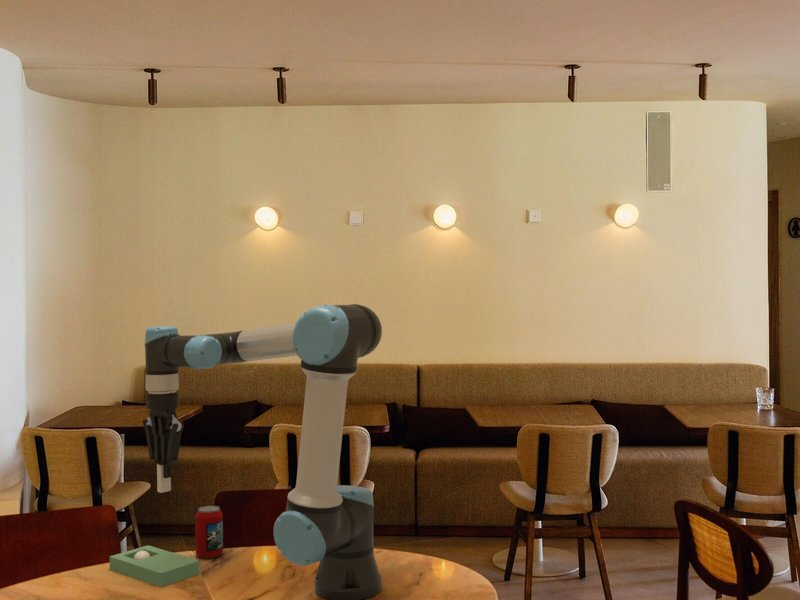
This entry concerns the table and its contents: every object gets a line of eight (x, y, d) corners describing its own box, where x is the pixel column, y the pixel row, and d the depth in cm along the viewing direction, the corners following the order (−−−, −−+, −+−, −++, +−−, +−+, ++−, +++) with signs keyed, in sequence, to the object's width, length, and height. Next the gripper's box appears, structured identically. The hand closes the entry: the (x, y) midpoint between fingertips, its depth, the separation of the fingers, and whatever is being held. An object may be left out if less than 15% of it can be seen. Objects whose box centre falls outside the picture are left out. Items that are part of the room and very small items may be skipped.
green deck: (199, 573, 202) (199, 560, 202) (161, 587, 194) (161, 573, 194) (148, 557, 214) (147, 545, 214) (109, 569, 206) (109, 556, 206)
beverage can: (216, 560, 212) (215, 512, 212) (191, 558, 213) (190, 511, 213) (227, 552, 219) (226, 505, 218) (202, 550, 220) (202, 504, 220)
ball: (150, 568, 208) (156, 557, 207) (136, 573, 205) (141, 561, 203) (142, 556, 210) (147, 545, 209) (128, 560, 207) (133, 549, 205)
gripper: (193, 391, 200) (194, 491, 200) (158, 388, 208) (160, 484, 208) (166, 395, 194) (168, 498, 194) (132, 391, 202) (133, 490, 202)
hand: (164, 491), depth 201 cm, fingers closed
